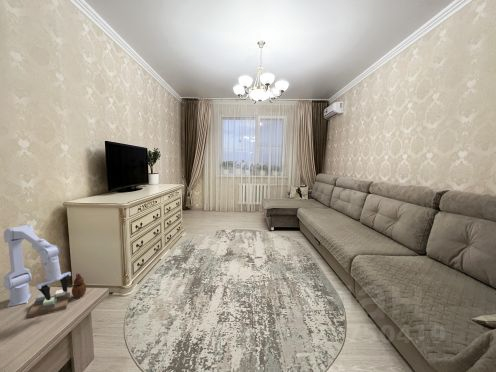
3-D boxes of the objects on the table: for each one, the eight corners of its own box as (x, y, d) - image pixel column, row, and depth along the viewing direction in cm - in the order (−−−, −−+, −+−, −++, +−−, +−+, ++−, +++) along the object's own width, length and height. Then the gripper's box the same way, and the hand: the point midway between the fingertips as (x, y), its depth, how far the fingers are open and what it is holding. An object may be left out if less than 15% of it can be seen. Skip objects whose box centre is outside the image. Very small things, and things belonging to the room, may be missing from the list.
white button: (56, 294, 127) (56, 290, 126) (65, 292, 129) (65, 288, 128) (55, 297, 123) (55, 294, 123) (64, 295, 125) (64, 292, 125)
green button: (45, 302, 119) (44, 299, 118) (54, 300, 121) (54, 296, 121) (43, 307, 115) (42, 303, 115) (53, 304, 117) (53, 300, 117)
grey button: (39, 298, 123) (38, 294, 122) (48, 296, 125) (48, 292, 124) (37, 301, 119) (36, 298, 119) (47, 299, 121) (46, 295, 121)
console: (36, 303, 123) (35, 296, 123) (70, 295, 131) (69, 289, 131) (28, 318, 111) (27, 310, 111) (66, 308, 119) (65, 301, 119)
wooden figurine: (78, 300, 127) (77, 275, 125) (69, 298, 128) (68, 274, 127) (88, 293, 133) (87, 270, 132) (80, 292, 135) (79, 268, 133)
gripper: (40, 276, 105) (45, 304, 106) (73, 264, 119) (77, 288, 119) (31, 276, 107) (36, 303, 108) (64, 263, 121) (68, 287, 122)
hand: (57, 295), depth 114 cm, fingers open, 7 cm apart
